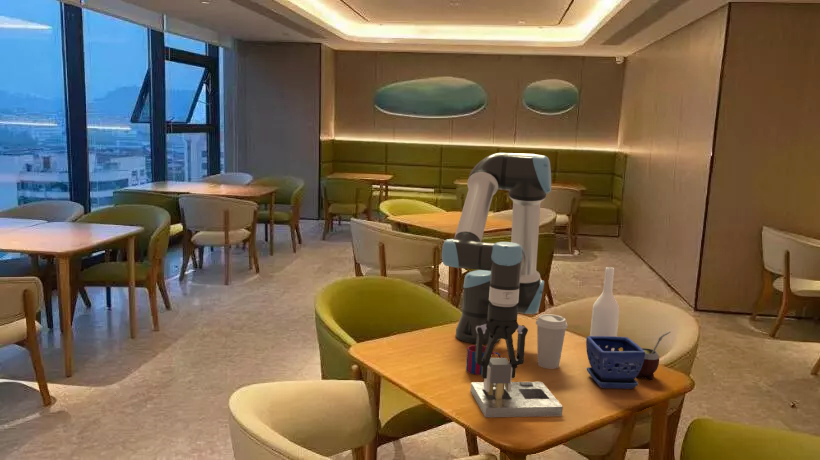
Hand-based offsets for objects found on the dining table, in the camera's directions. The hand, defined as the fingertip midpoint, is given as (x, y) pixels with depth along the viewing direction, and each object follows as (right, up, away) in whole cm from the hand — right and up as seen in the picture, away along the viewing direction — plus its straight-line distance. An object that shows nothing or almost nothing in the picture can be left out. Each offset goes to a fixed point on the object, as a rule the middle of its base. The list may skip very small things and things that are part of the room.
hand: (497, 389), depth 167 cm
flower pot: (+36, -3, +19) cm, 40 cm away
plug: (0, -2, 0) cm, 2 cm away
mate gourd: (+48, -3, +25) cm, 54 cm away
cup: (-1, -1, +22) cm, 23 cm away
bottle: (+38, 0, +37) cm, 53 cm away
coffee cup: (+20, 0, +30) cm, 36 cm away
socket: (+5, -4, +1) cm, 6 cm away
